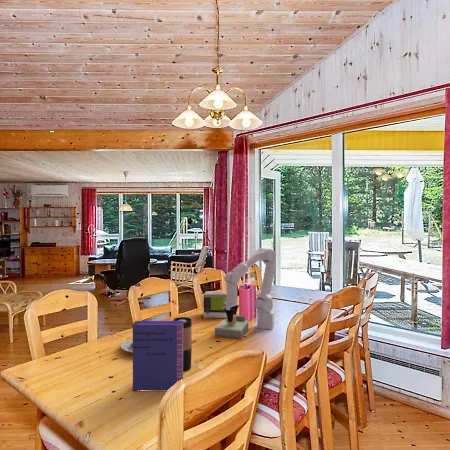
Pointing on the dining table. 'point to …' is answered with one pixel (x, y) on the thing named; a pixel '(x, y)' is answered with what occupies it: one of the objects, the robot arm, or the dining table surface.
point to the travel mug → (186, 342)
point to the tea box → (214, 304)
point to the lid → (233, 327)
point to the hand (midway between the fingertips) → (231, 320)
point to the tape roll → (233, 320)
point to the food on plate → (127, 345)
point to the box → (231, 333)
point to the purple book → (157, 354)
